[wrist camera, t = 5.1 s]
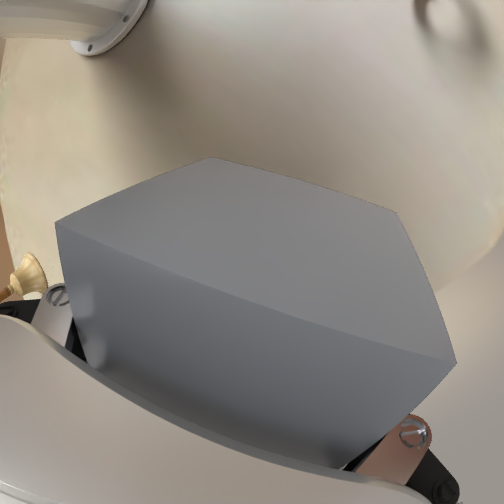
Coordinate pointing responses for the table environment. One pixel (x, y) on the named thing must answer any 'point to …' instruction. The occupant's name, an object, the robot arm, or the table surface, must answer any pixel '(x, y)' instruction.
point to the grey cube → (257, 307)
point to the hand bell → (26, 278)
